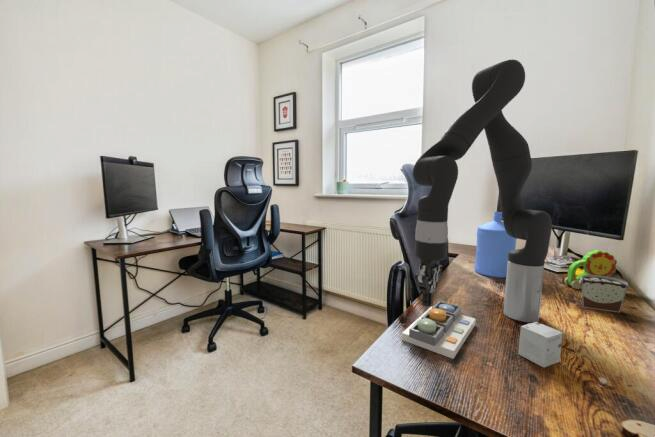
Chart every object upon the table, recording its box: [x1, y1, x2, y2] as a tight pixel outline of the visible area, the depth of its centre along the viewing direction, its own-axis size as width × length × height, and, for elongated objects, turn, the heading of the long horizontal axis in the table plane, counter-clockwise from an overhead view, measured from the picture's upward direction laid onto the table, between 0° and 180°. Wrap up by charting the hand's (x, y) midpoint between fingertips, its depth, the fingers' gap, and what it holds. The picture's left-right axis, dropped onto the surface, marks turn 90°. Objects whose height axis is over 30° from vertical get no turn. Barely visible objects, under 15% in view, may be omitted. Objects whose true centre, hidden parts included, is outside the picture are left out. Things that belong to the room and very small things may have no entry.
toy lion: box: [564, 249, 618, 290], centre depth 113 cm, size 16×6×15 cm, turn 84°
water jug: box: [474, 211, 518, 279], centre depth 131 cm, size 16×16×28 cm
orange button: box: [429, 309, 446, 323], centre depth 81 cm, size 4×4×2 cm
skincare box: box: [517, 321, 564, 369], centre depth 69 cm, size 6×6×7 cm
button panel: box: [401, 300, 476, 360], centre depth 80 cm, size 13×23×4 cm, turn 140°
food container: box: [579, 275, 630, 313], centre depth 97 cm, size 12×6×10 cm, turn 65°
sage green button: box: [418, 319, 436, 335], centre depth 75 cm, size 4×4×2 cm
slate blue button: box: [439, 304, 455, 313], centre depth 87 cm, size 4×4×2 cm
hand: (427, 305), depth 74 cm, fingers closed
